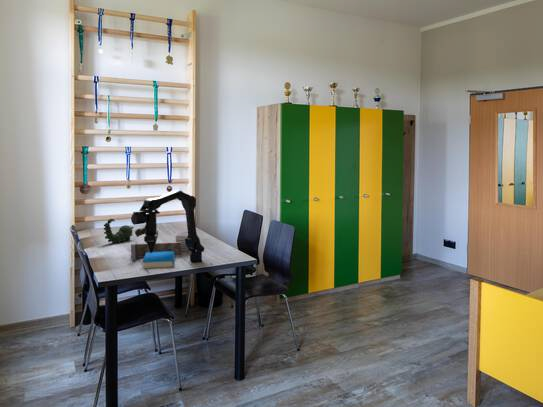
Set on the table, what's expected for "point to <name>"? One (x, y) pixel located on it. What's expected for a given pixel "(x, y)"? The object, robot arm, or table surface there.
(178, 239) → the can
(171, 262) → the book
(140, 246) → the shelf wall
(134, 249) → the bookend
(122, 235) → the toy figurine
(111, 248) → the table surface
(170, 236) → the table surface
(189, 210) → the robot arm
